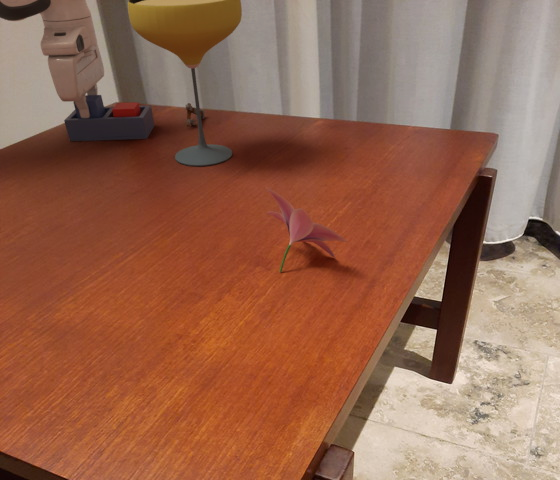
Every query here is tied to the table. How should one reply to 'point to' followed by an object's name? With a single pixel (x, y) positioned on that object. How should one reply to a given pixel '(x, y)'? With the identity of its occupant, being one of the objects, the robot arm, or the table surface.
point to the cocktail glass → (188, 48)
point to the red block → (126, 110)
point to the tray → (110, 126)
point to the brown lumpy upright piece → (193, 110)
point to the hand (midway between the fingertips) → (90, 112)
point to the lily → (302, 226)
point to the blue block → (93, 106)
